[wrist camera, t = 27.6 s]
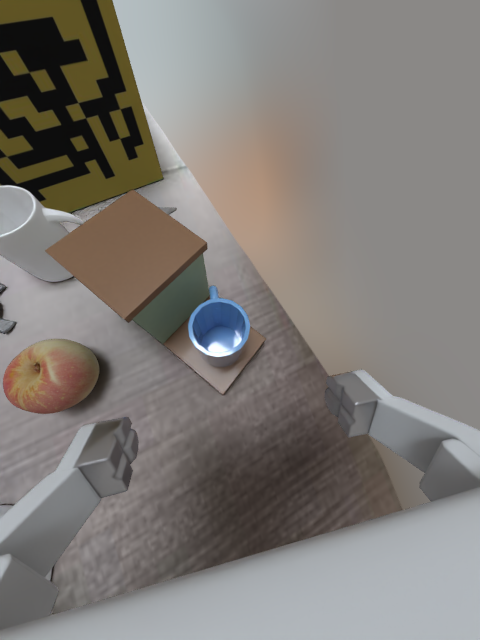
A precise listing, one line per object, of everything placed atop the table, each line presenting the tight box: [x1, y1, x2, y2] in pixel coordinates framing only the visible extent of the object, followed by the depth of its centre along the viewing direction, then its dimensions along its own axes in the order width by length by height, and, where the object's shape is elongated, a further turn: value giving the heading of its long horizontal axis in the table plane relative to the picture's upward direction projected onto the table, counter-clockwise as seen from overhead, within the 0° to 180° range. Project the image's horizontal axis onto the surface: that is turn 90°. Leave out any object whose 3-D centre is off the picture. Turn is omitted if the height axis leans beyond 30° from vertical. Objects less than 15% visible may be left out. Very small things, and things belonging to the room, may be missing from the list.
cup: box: [188, 286, 250, 367], centre depth 26 cm, size 9×6×9 cm
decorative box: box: [0, 0, 163, 213], centre depth 33 cm, size 26×37×30 cm
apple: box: [3, 339, 99, 414], centre depth 26 cm, size 9×9×8 cm
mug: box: [0, 185, 85, 282], centre depth 31 cm, size 9×12×11 cm
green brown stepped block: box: [45, 189, 266, 395], centre depth 27 cm, size 11×21×15 cm, turn 52°
